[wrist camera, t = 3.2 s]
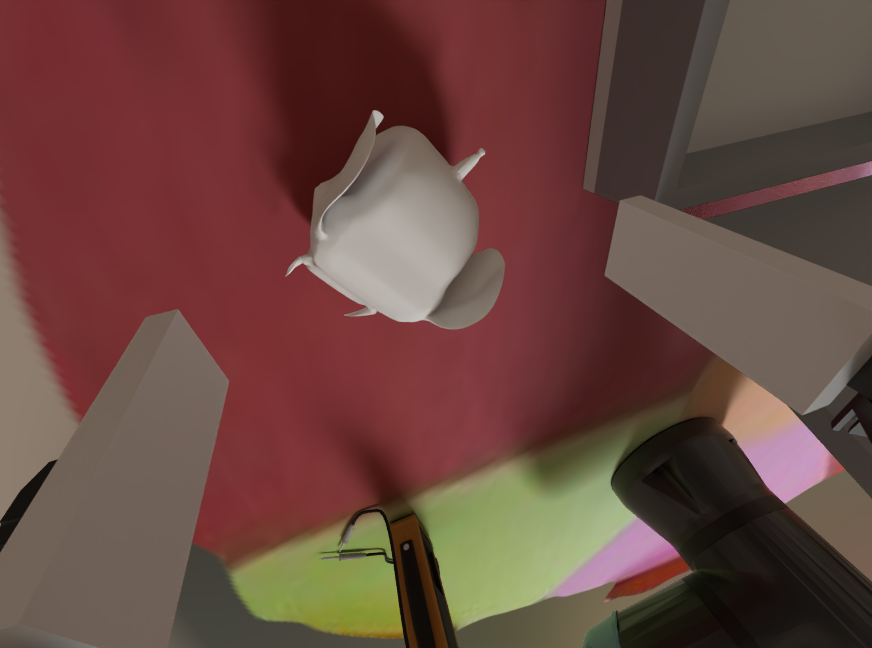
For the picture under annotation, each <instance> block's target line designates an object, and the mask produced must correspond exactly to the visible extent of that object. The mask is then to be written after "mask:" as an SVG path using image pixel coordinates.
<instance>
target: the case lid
mask: <svg viewBox="0 0 872 648" xmlns="http://www.w3.org/2000/svg"><path fill="white" fill-rule="evenodd" d="M704 220H705V221H707V222H710V223H712V224H715V225H717V226H720V227H723V228H725V229H728V230H730V231H733V232H735V233H738V234H740V235H743V236H745V237H748V238H750V239H753V240H756V241H758V242H761V243H763V244H766V245H768V246H771V247H773V248H776V249H778V250H781V251H783V252H786V253H789V254H791V255H794V256H796V257H799V258H801V259H804V260H806V261H809V262H811V263H814V264H816V265H819V266H822V267H824V268H827V269H829V270H832V271H834V272H837V273H839V274H842V275H844V276H847V277H849V278H852V279H855V280H857V281H860V282H862V283H865V284H867V285H870V286H872V175H871V176H867V177H863V178H859V179H856V180H852V181H848V182H844V183H840V184H837V185H833V186H829V187H825V188H821V189H818V190H814V191H810V192H806V193H802V194H799V195H795V196H791V197H787V198H784V199H780V200H776V201H772V202H768V203H765V204H761V205H757V206H753V207H749V208H746V209H742V210H738V211H734V212H730V213H727V214H723V215H719V216H715V217H711V218H708V219H704ZM857 393H858V392H857V391H855V390H854V389H852V388H850V387H849V386H847V385H846V386H845V388H844V389H843V390H842V391H841V392H840V393H839V394H838V395H837V396H836V398H835V399H834V400H833V401H832V402H831V403H830V404H829V405H827V406H825V407H822V408H820V409H817V410H814V411H812V412H809V413H807V414H804V415H801V414H799V413H798V412H797V411H795V410H794V409H792V408H791V407H790V406H788V407H789V408H790V409H791V410H792V411H793V412H794V413H795V414H796V415H797V416H798V418H799V419H800V420H801V421H802V422H803V423H804V424H805V425H806V426H807V427H808V429H809V430H810V431H811V432H812V433H813V434H814V435H815V436H816V437H817V439H818V440H819V441H820V442H821V443H822V444H823V445H824V446H825V447H826V448H827V450H828V451H829V452H830V453H831V454H832V455H833V456H834V457H835V458H836V459H837V461H838V462H839V463H840V464H841V465H842V466H843V467H844V468H845V469H846V471H847V472H848V473H849V474H850V475H851V476H852V477H853V478H854V479H855V480H856V482H857V483H859V485H860V486H861V487H862V488H863V489H864V490H865V492H867V494H868V495H869V496H870V497H871V498H872V444H871V442H870V440H869V439H868V437H864V436H859V435H854V434H849V433H848V430H849V428H850V427H851V426H852V425H853V424H854V423H855V422H856V421H857V419H850V420H849V421H848V422H847V423H846V424H845V425H844V426H843V427H842V428H841V429H840V430H839V431H835V430H832V427H831V421H832V420H833V419H834V418H835V417H836V416H837V414H838V413H839V412H840V411H841V410H842V409H843V408H844V407H845V406H846V405H847V404H848V403H849V402H850V401H851V400H852V399H853V398H854V397H855V395H856V394H857Z"/></svg>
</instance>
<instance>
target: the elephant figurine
mask: <svg viewBox="0 0 872 648" xmlns="http://www.w3.org/2000/svg"><path fill="white" fill-rule="evenodd" d="M382 120H383V115H382V114H381V113H380V112H378V111H376V110H373V111H372V114H371V116H370V119H369V121H368V123H367V125H366V127H365V129H364V131H363V133H362V134H361V136H360V138H359V139H358V141H357V143H356V145H355V147H354V150H353V152H352V154H351V156H350V158H349V159H348V161H347V163H346V165H345V166H344V168H343V169H342V170H341V172H340V173H339V174H337V175H336V176H335V177H333V178H332V179H330V180H328V181H325V182H323V183H321V184H320V185H318V186H317V187H316V188H315V191H314V198H313V214H312V220H311V231H310V241H311V248H310V250H309V252H308V254H305V255H303V256H299V257H298V258H297V259H296V260H295V261H294V262H293V263H292V264H291V265H290V267H289V268H288V271H287V274H286V276H287V275H288V274H289V273H291V271H292V270H293V269H294V268H295V267H296V266H298V265H300V264H301V263H304V264H305V265H306V266H307V268H308V269H309V270H310V271H311V272H312V273H314V274H315V275H316V276H318V277H319V278H320V279H322V280H323V281H325V282H326V283H327V284H329V285H330V286H332V287H333V288H335V289H336V290H337V291H339V292H340V293H342V294H344V295H345V296H347V297H348V298H350V299H351V300H353V301H355V302H357V303H359V304H362V305H366V307H365V308H363V309H361V310H359V311H356V312H352V313H349V314H345V316H365V315H371V314H375V313H376V312H377V311H379V312H381V313H382V314H384V315H386V316H388V317H390V318H391V319H394V320H396V321H400V322H416V321H419V320H427V321H430V322H432V323H433V324H435V325H437V326H439V327H442V328H446V329H461V328H465V327H468V326H470V325H472V324H474V323H476V322H478V321H479V320H481V319H482V318H484V317H485V316H486V315H487V314H488V313H489V311H490V310H491V308H492V307H493V305H494V303H495V301H496V299H497V297H498V295H499V292H500V289H501V286H502V283H503V278H504V269H505V263H504V260H503V257H502V255H501V254H500V253H499V252H498V251H497V250H496V249H493V248H487V249H485V250H483V251H481V252H479V253H475V254H472V253H473V251H474V249H475V247H476V244H477V239H478V227H479V211H478V205H477V203H476V201H475V199H474V197H473V196H472V194H471V193H470V191H469V190H468V189H467V187H466V186H465V184H464V183H463V182H462V179H463V178H464V177H465V176H466V175H467V173H468V172H469V171H470V170H471V169H472V168H473V167H474V166H475V165H476V163H477V162H478V160H479V158H480V157H481V156H483V155H485V150H484V149H483V148H480V149H479V151H478V152H477V153H476V154H473V155H471V156H469V157H467V158H466V159H464V160H463V161H461V162H459V163H458V164H456V165H455V166H451V165H449V164H448V162H447V161H446V160H445V159H444V158H443V157H442V155H441V154H440V153H439V152H438V151H437V150H436V148H435V147H434V146H433V145H432V144H431V143H430V141H429V140H428V139H427V138H426V137H425V136H424V135H423V134H422V133H420V132H419V131H418V130H416V129H414V128H411V127H407V126H394V127H391V128H389V129H387V130H385V131H383V132H381V133H379V134H378V135H376V128H377V127H378V125H379V124H380V123H381V121H382ZM375 136H376V137H375Z"/></svg>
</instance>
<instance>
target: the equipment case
mask: <svg viewBox="0 0 872 648" xmlns="http://www.w3.org/2000/svg"><path fill="white" fill-rule="evenodd" d="M870 161H872V0H607V2H606V10H605V18H604V26H603V34H602V42H601V49H600V57H599V65H598V73H597V81H596V89H595V96H594V104H593V112H592V120H591V128H590V136H589V143H588V151H587V159H586V167H585V175H584V182H583V189H585V190H587V191H590V192H592V193H594V194H597V195H599V196H601V197H604V198H606V199H608V200H611V201H613V202H615V203H617V204H619V202H620V200H624V199H628V198H632V197H636V196H640V195H641V196H644V197H646V198H649V199H651V200H654V201H657V202H659V203H662V204H664V205H667V206H669V207H672V208H674V209H677V210H682V209H686V208H690V207H694V206H698V205H702V204H705V203H709V202H713V201H717V200H721V199H725V198H729V197H733V196H737V195H741V194H745V193H749V192H752V191H756V190H760V189H764V188H768V187H772V186H776V185H780V184H784V183H788V182H792V181H795V180H799V179H803V178H807V177H811V176H815V175H819V174H823V173H827V172H831V171H835V170H838V169H842V168H846V167H850V166H854V165H858V164H862V163H866V162H870Z"/></svg>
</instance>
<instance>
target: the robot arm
mask: <svg viewBox="0 0 872 648" xmlns="http://www.w3.org/2000/svg"><path fill="white" fill-rule="evenodd" d="M604 276H606V277H607V278H609V279H610V280H612V281H613V282H614V283H616V284H617V285H619V286H620V287H621V288H623V289H624V290H626V291H627V292H628V293H630V294H631V295H633V296H634V297H636V298H637V299H638V300H640V301H641V302H643V303H644V304H645V305H647V306H648V307H650V308H651V309H652V310H654V311H655V312H657V313H658V314H660V315H661V316H662V317H664V318H665V319H667V320H668V321H669V322H671V323H672V324H674V325H675V326H677V327H678V328H679V329H681V330H682V331H684V332H685V333H686V334H688V335H689V336H691V337H692V338H693V339H695V340H696V341H698V342H699V343H701V344H702V345H703V346H705V347H706V348H708V349H709V350H710V351H712V352H713V353H715V354H716V355H717V356H719V357H720V358H722V359H723V360H725V361H726V362H727V363H729V364H730V365H732V366H733V367H734V368H736V369H737V370H739V371H740V372H741V373H743V374H744V375H746V376H747V377H749V378H750V379H751V380H753V381H754V382H756V383H757V384H758V385H760V386H761V387H763V388H764V389H766V390H767V391H768V392H770V393H771V394H773V395H774V396H775V397H777V398H778V399H780V400H781V401H782V402H784V403H785V404H787V405H788V406H790V407H791V408H792V409H794V410H795V411H797V412H798V413H799V414H801V415H804V414H807V413H809V412H812V411H814V410H817V409H820V408H822V407H825V406H827V405H829V404H830V403H831V402H832V401H833V400H834V399H835V398H836V396H837V395H838V394H839V393H840V392H841V391H842V390H843V389H844V388H845V386H846V385H847V386H849V387H850V388H852V389H854V390H855V391H857V392H858V393H857V394H856V395H855V397H854V398H853V399H852V400H851V401H850V402H849V403H848V404H847V405H846V406H845V407H844V408H843V409H842V410H841V411H840V412H839V413H838V414H837V416H836V417H835V418H834V419H833V420H832V421H831V427H832V430H835V431H839V430H840V429H841V428H842V427H843V426H844V425H845V424H846V423H847V422H848V421H849V420H850V419H857V421H856V422H855V423H854V424H853V425H852V426H851V427H850V428H849V430H848V433H849V434H854V435H859V436H864V437H868V439H869V440H870V442H871V444H872V286H870V285H867V284H865V283H862V282H860V281H857V280H855V279H852V278H849V277H847V276H844V275H842V274H839V273H837V272H834V271H832V270H829V269H827V268H824V267H822V266H819V265H816V264H814V263H811V262H809V261H806V260H804V259H801V258H799V257H796V256H794V255H791V254H789V253H786V252H783V251H781V250H778V249H776V248H773V247H771V246H768V245H766V244H763V243H761V242H758V241H756V240H753V239H750V238H748V237H745V236H743V235H740V234H738V233H735V232H733V231H730V230H728V229H725V228H723V227H720V226H717V225H715V224H712V223H710V222H707V221H705V220H702V219H700V218H697V217H695V216H692V215H690V214H687V213H684V212H682V211H679V210H677V209H674V208H672V207H669V206H667V205H664V204H662V203H659V202H657V201H654V200H651V199H649V198H646V197H644V196H641V195H640V196H636V197H632V198H628V199H624V200H620V202H619V207H618V212H617V217H616V222H615V227H614V231H613V236H612V241H611V246H610V251H609V256H608V261H607V265H606V270H605V275H604ZM228 385H229V380H228V379H227V378H226V376H225V375H224V373H223V372H222V371H221V369H220V368H219V366H218V365H217V363H216V362H215V361H214V359H213V358H212V356H211V355H210V354H209V352H208V351H207V349H206V348H205V347H204V345H203V344H202V342H201V341H200V339H199V338H198V337H197V335H196V334H195V332H194V331H193V330H192V328H191V327H190V325H189V324H188V323H187V321H186V320H185V318H184V317H183V316H182V314H181V313H180V311H179V310H178V309H177V310H173V311H169V312H165V313H161V314H157V315H152V316H148V317H146V318H145V319H144V321H143V323H142V324H141V326H140V328H139V329H138V331H137V332H136V334H135V336H134V337H133V339H132V341H131V342H130V344H129V345H128V347H127V349H126V350H125V352H124V353H123V355H122V357H121V358H120V360H119V362H118V363H117V365H116V366H115V368H114V370H113V371H112V373H111V374H110V376H109V378H108V379H107V381H106V383H105V384H104V386H103V387H102V389H101V391H100V392H99V394H98V395H97V397H96V399H95V400H94V402H93V404H92V405H91V407H90V408H89V410H88V412H87V413H86V415H85V417H84V418H83V420H82V421H81V423H80V425H79V426H78V428H77V430H76V431H75V433H74V434H73V436H72V438H71V439H70V441H69V442H68V444H67V446H66V447H65V449H64V451H63V452H62V454H61V455H60V457H59V459H57V460H54V461H51V462H49V463H48V464H47V465H46V466H45V467H44V468H43V469H42V470H41V471H40V472H39V473H38V474H37V475H36V476H35V477H34V478H33V479H32V480H31V481H30V482H29V483H28V484H27V485H26V486H25V487H24V488H23V489H22V490H21V491H20V492H19V494H18V495H17V497H16V498H15V500H14V501H13V503H12V504H11V506H10V507H9V509H8V510H7V512H6V513H5V515H4V516H3V518H2V519H1V521H0V523H1V526H0V648H167V647H168V643H169V638H170V633H171V630H172V625H173V621H174V617H175V612H176V608H177V604H178V600H179V595H180V591H181V587H182V582H183V578H184V574H185V570H186V565H187V561H188V557H189V552H190V548H191V544H192V539H193V535H194V531H195V527H196V522H197V518H198V514H199V509H200V505H201V501H202V496H203V492H204V488H205V484H206V479H207V475H208V471H209V466H210V462H211V458H212V453H213V449H214V445H215V441H216V436H217V432H218V428H219V423H220V419H221V415H222V410H223V406H224V402H225V398H226V393H227V389H228ZM612 489H613V491H614V492H615V494H616V495H617V496H618V498H619V499H620V501H621V502H622V503H623V505H624V506H625V507H626V508H627V509H629V510H630V511H631V512H632V513H633V514H635V515H636V516H637V517H638V518H640V519H641V520H642V521H643V522H644V523H646V524H647V525H648V526H649V527H651V528H652V529H653V530H654V531H655V532H657V533H658V534H659V535H660V536H662V537H663V538H664V539H665V540H666V541H668V542H669V543H670V544H671V545H672V546H673V547H674V548H675V549H676V551H677V552H678V553H679V554H680V556H681V557H682V558H683V560H684V561H685V562H686V564H687V565H688V566H689V567H690V569H691V570H692V572H693V573H691V574H690V575H688V576H686V577H684V578H682V579H680V580H678V581H676V582H674V583H672V584H670V585H668V586H667V587H665V588H663V589H661V590H659V591H657V592H656V593H654V594H652V595H650V596H648V597H646V598H644V599H642V600H641V601H639V602H637V603H635V604H633V605H631V606H629V607H627V608H626V609H624V610H622V611H620V612H618V611H617V610H615V611H613V613H612V615H611V616H609V617H608V618H606V619H605V620H603V621H601V622H600V623H599V624H597V625H595V626H594V627H592V628H590V629H589V630H588V632H587V633H586V635H585V637H584V642H583V648H872V582H871V581H870V580H869V579H868V578H867V577H866V576H865V575H863V574H862V573H861V572H860V571H859V570H858V569H857V568H856V567H855V566H854V565H853V564H851V563H850V562H849V561H848V560H847V559H846V558H844V556H842V555H841V554H840V553H839V552H838V551H837V550H836V549H835V548H834V547H832V546H831V545H830V544H829V543H828V542H827V541H826V540H825V539H824V538H822V537H821V536H820V535H819V534H818V533H817V532H816V531H815V530H814V529H812V528H811V527H810V526H809V525H808V524H807V523H806V522H805V521H804V520H802V519H801V518H800V517H799V516H798V515H797V514H796V513H795V512H794V511H792V510H791V509H790V508H789V507H788V506H787V505H786V504H784V503H783V502H782V501H781V500H780V499H779V498H778V497H777V496H776V495H775V494H774V493H773V492H772V491H770V490H769V488H768V487H767V486H766V485H765V483H764V482H763V480H762V479H761V477H760V476H759V474H758V473H757V471H756V470H755V468H754V467H753V465H752V464H751V462H750V461H749V459H748V458H747V456H746V455H745V454H744V452H743V451H742V450H741V448H740V447H739V446H738V444H737V441H736V439H735V438H734V436H733V435H732V434H731V433H730V432H729V431H727V430H726V429H725V428H724V427H723V426H722V425H720V424H719V423H718V422H717V421H716V420H714V419H711V418H699V419H694V420H690V421H687V422H684V423H681V424H679V425H676V426H674V427H672V428H670V429H668V430H666V431H664V432H662V433H661V434H659V435H657V436H656V437H654V438H652V439H651V440H649V441H648V442H647V443H645V444H644V445H643V446H641V447H640V448H639V449H638V450H636V451H635V452H634V453H633V454H632V455H631V456H630V457H629V458H628V459H627V460H626V461H625V462H624V463H623V464H622V465H621V467H620V468H619V469H618V471H617V472H616V474H615V476H614V478H613V481H612Z"/></svg>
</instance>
